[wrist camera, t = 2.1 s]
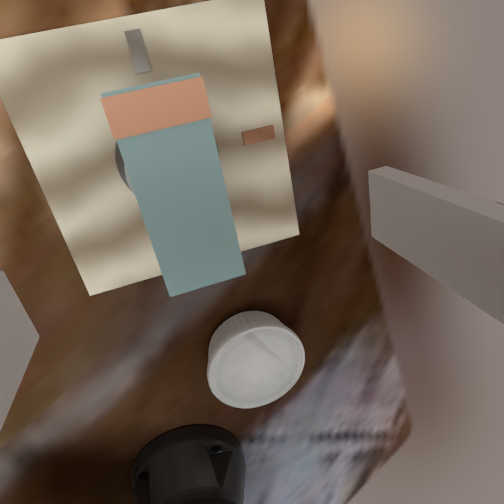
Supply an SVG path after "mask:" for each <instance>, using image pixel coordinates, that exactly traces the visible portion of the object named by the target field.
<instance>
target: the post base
mask: <svg viewBox="0 0 504 504" xmlns="http://www.w3.org/2000/svg"><path fill="white" fill-rule="evenodd" d="M199 72H200V77H201V76H203V80H204V85H205V89H206V94H207V98H208V102H209V107H210V111H211V115H212V117H211V118H210V120H211V124H212V129H213V133H214V137H215V142H216V146H217V150H218V155H219V159H220V164H221V168H222V172H223V177H224V181H225V185H226V190H227V194H228V198H229V203H230V207H231V211H232V216H233V220H234V224H235V229H236V233H237V237H238V242H239V246H240V251H245V250H248V249H252V248H255V247H258V246H262V245H265V244H269V243H272V242H276V241H279V240H282V239H286V238H289V237H293V236H296V235H299V228H298V221H297V215H296V208H295V202H294V195H293V188H292V182H291V175H290V168H289V162H288V155H287V149H286V142H285V135H284V129H283V122H282V115H281V109H280V102H279V96H278V89H277V82H276V76H275V69H274V62H273V56H272V49H271V43H270V36H269V29H268V23H267V16H266V9H265V3H264V0H210V1H205V2H199V3H194V4H189V5H183V6H178V7H172V8H167V9H161V10H156V11H151V12H145V13H140V14H134V15H129V16H124V17H118V18H113V19H107V20H102V21H96V22H91V23H86V24H80V25H75V26H69V27H64V28H59V29H53V30H48V31H42V32H37V33H32V34H26V35H21V36H15V37H10V38H4V39H0V97H1V99H2V101H3V104H4V106H5V108H6V110H7V113H8V115H9V117H10V119H11V121H12V124H13V126H14V128H15V130H16V133H17V135H18V137H19V139H20V141H21V144H22V146H23V148H24V150H25V153H26V155H27V157H28V159H29V161H30V164H31V166H32V168H33V170H34V173H35V175H36V177H37V179H38V181H39V184H40V186H41V188H42V190H43V193H44V195H45V197H46V199H47V201H48V204H49V206H50V208H51V210H52V213H53V215H54V217H55V219H56V221H57V224H58V226H59V228H60V230H61V233H62V235H63V237H64V239H65V241H66V244H67V246H68V248H69V250H70V253H71V255H72V257H73V259H74V261H75V264H76V266H77V268H78V270H79V273H80V275H81V277H82V279H83V281H84V284H85V286H86V288H87V290H88V293H89V295H90V296H91V295H95V294H98V293H101V292H105V291H108V290H112V289H115V288H118V287H122V286H125V285H129V284H132V283H136V282H139V281H142V280H146V279H149V278H153V277H156V276H159V275H162V272H161V269H160V267H159V264H158V261H157V258H156V255H155V252H154V249H153V246H152V243H151V240H150V237H149V234H148V231H147V228H146V225H145V223H144V220H143V217H142V214H141V211H140V208H139V205H138V202H137V199H136V196H135V195H134V194H133V193H132V191H131V189H130V187H129V185H128V183H127V180H126V176H125V169H124V161H123V158H122V155H121V152H120V149H119V146H118V143H117V141H116V140H114V137H113V134H112V131H111V129H110V126H109V123H108V120H107V117H106V114H105V111H104V108H103V105H102V102H101V99H100V98H102V97H101V93H105V92H110V91H115V90H119V89H124V88H129V87H134V86H138V85H143V84H148V83H152V82H157V81H162V80H166V79H171V78H176V77H180V76H185V75H190V74H194V73H199Z"/></svg>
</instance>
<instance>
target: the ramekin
mask: <svg viewBox="0 0 504 504" xmlns="http://www.w3.org/2000/svg"><path fill="white" fill-rule="evenodd" d="M304 363H305V351H304V347H303V345H302V342H301V341H300V339H299V338H298V336H297V335H296V334H295V333H294V332H293V331H292V330H291V329H289V328H288V327H286V326H285V325H284V324H283V323H281V322H280V321H279V320H278V319H277V318H276V317H274V316H272V315H271V314H268V313H266V312H262V311H245V312H241V313H239V314H236V315H234V316H232V317H230V318H229V319H227V320H226V321H225V322H223V323H222V324H221V325H220V326H219V327H218V329H217V330H216V331H215V333H214V334H213V336H212V338H211V340H210V344H209V350H208V366H207V378H208V383H209V386H210V389H211V391H212V393H213V394H214V395H215V396H216V398H218V399H219V400H220V401H222V402H223V403H225V404H227V405H230V406H233V407H236V408H254V407H258V406H262V405H265V404H268V403H270V402H273V401H275V400H276V399H278V398H280V397H281V396H283V395H284V394H285V393H286V392H287V391H289V390H290V389H291V388H292V386H293V385H294V384H295V383H296V382H297V380H298V379H299V377H300V375H301V373H302V370H303V367H304Z"/></svg>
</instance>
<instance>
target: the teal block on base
mask: <svg viewBox="0 0 504 504" xmlns="http://www.w3.org/2000/svg"><path fill="white" fill-rule="evenodd" d="M101 97H102V98H100V99H101V102H102V105H103V108H104V111H105V114H106V117H107V120H108V123H109V126H110V129H111V131H112V134H113V137H114V140H116V141H117V143H118V146H119V149H120V152H121V155H122V158H123V161H124V169H125V176H126V180H127V183H128V185H129V187H130V189H131V191H132V193H133V194H134V195H135V196H136V199H137V202H138V205H139V208H140V211H141V214H142V217H143V220H144V223H145V225H146V228H147V231H148V234H149V237H150V240H151V243H152V246H153V249H154V252H155V255H156V258H157V261H158V264H159V267H160V269H161V272H162V275H163V278H164V281H165V284H166V287H167V290H168V293H169V296H170V297H172V296H176V295H179V294H182V293H186V292H189V291H192V290H195V289H199V288H202V287H205V286H209V285H212V284H215V283H219V282H222V281H225V280H228V279H232V278H235V277H238V276H242V275H245V274H246V272H245V268H244V264H243V259H242V255H241V251H240V246H239V242H238V237H237V233H236V229H235V224H234V220H233V216H232V211H231V207H230V203H229V198H228V194H227V190H226V185H225V181H224V177H223V172H222V168H221V164H220V159H219V155H218V150H217V146H216V142H215V137H214V133H213V129H212V124H211V120H210V118H211V117H212V115H211V111H210V107H209V102H208V98H207V94H206V89H205V85H204V80H203V76H201V77H200V72H199V73H194V74H190V75H185V76H180V77H176V78H171V79H166V80H162V81H157V82H152V83H148V84H143V85H138V86H134V87H129V88H124V89H119V90H115V91H110V92H105V93H101Z"/></svg>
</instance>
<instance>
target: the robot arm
mask: <svg viewBox="0 0 504 504" xmlns="http://www.w3.org/2000/svg"><path fill="white" fill-rule="evenodd" d="M368 177H369V193H370V194H369V195H370V210H371V211H370V213H371V230H372V237H373V238H375V239H376V240H378V241H379V242H381V243H382V244H384V245H385V246H387V247H388V248H390V249H391V250H393V251H394V252H396V253H397V254H399V255H400V256H402V257H403V258H405V259H406V260H408V261H409V262H411V263H412V264H414V265H415V266H417V267H418V268H420V269H421V270H423V271H424V272H426V273H427V274H429V275H430V276H432V277H433V278H435V279H436V280H438V281H439V282H441V283H443V284H444V285H446V286H447V287H449V288H450V289H452V290H453V291H455V292H456V293H458V294H459V295H461V296H462V297H464V298H465V299H467V300H468V301H470V302H471V303H473V304H474V305H476V306H477V307H479V308H480V309H482V310H483V311H485V312H486V313H488V314H489V315H491V316H492V317H494V318H495V319H497V320H498V321H500V322H501V323H503V324H504V204H501V203H498V202H493V201H491V200H487V199H484V198H481V197H478V196H475V195H472V194H469V193H466V192H463V191H460V190H457V189H454V188H451V187H448V186H445V185H442V184H439V183H436V182H433V181H430V180H427V179H424V178H421V177H418V176H415V175H412V174H409V173H406V172H403V171H400V170H397V169H394V168H391V167H388V166H385V167H381V168H377V169H374V170H370V171H368ZM39 337H40V336H39V335H38V333H37V331H36V329H35V327H34V326H33V324H32V322H31V320H30V318H29V317H28V315H27V313H26V311H25V309H24V308H23V306H22V304H21V302H20V300H19V299H18V297H17V295H16V293H15V291H14V290H13V288H12V286H11V284H10V282H9V281H8V279H7V277H6V275H5V273H4V271H3V270H2V271H0V431H1V428H2V426H3V424H4V421H5V419H6V416H7V414H8V412H9V409H10V407H11V404H12V402H13V400H14V397H15V395H16V392H17V390H18V387H19V385H20V383H21V380H22V378H23V375H24V373H25V371H26V368H27V366H28V363H29V361H30V359H31V356H32V354H33V351H34V349H35V347H36V344H37V342H38V339H39ZM245 471H246V468H245V460H244V456H243V453H242V449H241V446H240V444H239V442H238V441H237V439H236V438H235V437H234V436H233V435H232V434H230V433H229V432H227V431H225V430H223V429H221V428H217V427H213V426H206V425H195V426H187V427H182V428H178V429H175V430H172V431H170V432H167V433H165V434H163V435H161V436H159V437H158V438H156V439H155V440H153V441H152V442H150V443H149V444H148V445H147V446H146V447H145V448H144V449H143V450H142V451H141V452H140V453H139V455H138V456H137V458H136V459H135V461H134V463H133V466H132V469H131V481H130V493H131V498H132V502H133V504H243V499H244V485H245Z"/></svg>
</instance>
